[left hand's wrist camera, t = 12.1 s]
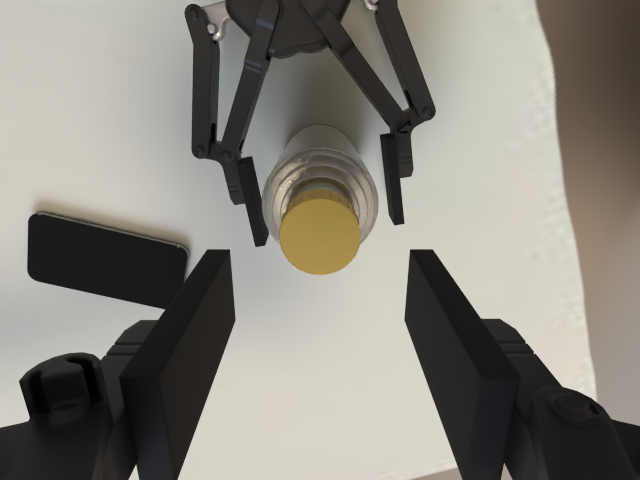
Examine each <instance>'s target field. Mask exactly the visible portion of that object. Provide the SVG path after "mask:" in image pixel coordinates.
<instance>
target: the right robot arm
mask: <svg viewBox="0 0 640 480" xmlns="http://www.w3.org/2000/svg"><path fill="white" fill-rule="evenodd" d="M350 1H351V0H225V1H223V2H219V3H215V4H211V5H208V6H204V7H200V6H198V5H196V4H190V5H188V6H187V8H186V9H185V18H186V21H187V25H188V28H189V31H190V35H191V38H192V41H193V44H194V47H193V100H192V153H193V155H194V156H195V157H196V158H199V159H203V158H205V159H211V160H215V161H217V162H219V163H220V164H221V165H222V167H223V170H224V174H225V178H226V182H227V186H228V190H229V194H230V198H231V200H232V202H233V203H234V205H238V204H246V209H247V213H248V217H249V221H250V226H251V230H252V234H253V238H254V243H255V247H258V246H265V244H266V241H267V238H268V236H269V231H268V228H267V226H266V223H265V221H264V217H263V213H262V200H261V195H260V190H259V186H258V181H257V177H256V172H255V168H254V163H253V159H252V156H251V157H245V158H242V159H241V154H242V152H241V151H242V148H243V144H244V141H245V138H246V135H247V132H248V128H249V125H250V122H251V119H252V116H253V112H254V109H255V106H256V103H257V100H258V96H259V93H260V90H261V87H262V84H263V80H264V77H265V74H266V72H267V70H268V67H269V64H270V61H271V58H272V57H274V58H278V59H283V58H288V57H291V56H293V55H295V54H297V53H299V52H303V53H316V52H321V51H322V50H323V49H325V48H326V47H327V46H328V47H329V48H330V50H331V51H332V52H333V54H334V55H335V56H336V58H337V59H338V60H339V61H340V62H341V64H342V65H343V66H344V68H345V69H346V70H347V72H348V73H349V74H350V76H351V77H352V78H353V80H354V81H355V82H356V84H357V85H358V86H359V88H360V89H361V90H362V92H363V93H364V94H365V96H366V97H367V98H368V100H369V101H370V102H371V104H372V105H373V106H374V108H375V109H376V110H377V112H378V113H379V114H380V116H381V117H382V118H383V120H384V121H385V122H386V124H387V125H388V126H389V128H390V133H387V134H381V135H380V140H381V149H382V158H383V167H384V176H385V185H386V193H387V202H388V211H389V216H390V218H391V220H392V222H393V223H394V225H400V224H404V215H403V205H402V195H401V185H400V178H404V177H410V176H411V175H412V172H413V160H412V149H411V132H412V130H413V129H414V127H416V126H417V125H419V124H421V123H423V122H424V121H428V120H431V119H432V118H433V117H434V115H435V112H436V110H435V106H434V103H433V101H432V98H431V95H430V93H429V90H428V87H427V85H426V82H425V79H424V76H423V74H422V71H421V68H420V66H419V63H418V60H417V58H416V55H415V52H414V50H413V47H412V44H411V42H410V39H409V36H408V34H407V31H406V28H405V26H404V23H403V20H402V18H401V15H400V12H399V10H398V7H397V0H361V1H362V3H363V6H364V8H365V10H366V11H368V12H371V13H373V12H374V14H375V19H376V23H377V26H378V29H379V32H380V34H381V37H382V39H383V42H384V44H385V47H386V49H387V52H388V55H389V57H390V60H391V62H392V65H393V67H394V70H395V72H396V75H397V77H398V80H399V82H400V85H401V88H402V90H403V93H404V95H405V98H406V100H407V103H408V105H409V108H407V109H406V110H404V111H402V109H401V108H400V107H399V105H398V104H397V103H396V101H395V100H394V98H393V97H392V96H391V94H390V93H389V92H388V90H387V89H386V87H385V86H384V85H383V83H382V82H381V81H380V79H379V78H378V76H377V75H376V74H375V72H374V71H373V70H372V68H371V67H370V66H369V64H368V63H367V61H366V60H365V59H364V57H363V56H362V55H361V53H360V52H359V50H358V49H357V48H356V46H355V45H354V43H353V41H352V39H351V38H350V36H349V35H348V34H347V32H346V31H345V30H344V28H343V27H342V26H341V24H340V23H341V20H342V18H343V16H344V14H345V12H346V10H347V7H348V5H349V3H350ZM229 20H233V21H234V22H235V23H236V24H237V25H238V26H239V27H240V28H241V29H242V30H243V31H244V32H245V33H246V34H247V35H248V36H249V37H250V38H251V39H250V43H249V46H248V49H247V53H246V56H245V61H244V68H243V71H242V75H241V78H240V81H239V85H238V88H237V92H236V95H235V98H234V102H233V105H232V109H231V112H230V115H229V119H228V122H227V126H226V129H225V132H224V136H223V139H222V142H221V141H217V117H218V91H219V65H220V49H219V42H218V41H220V40H222V39H223V38H224V36H225V26H226V24H227V22H228V21H229Z"/></svg>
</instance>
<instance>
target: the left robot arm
mask: <svg viewBox="0 0 640 480" xmlns="http://www.w3.org/2000/svg"><path fill="white" fill-rule="evenodd" d="M234 323H235V308H234V295H233V283H232V271H231V258H230V250H207V251H206V252H205V254H204V255H203V256H202V258H201V259H200V261H199V262H198V264H197V265H196V267H195V268H194V269H193V271H192V272H191V274H190V275H189V277H188V278H187V279H186V281H185V282H184V284H183V285H182V287H181V288H180V289H179V291H178V292H177V294H176V295H175V297H174V298H173V300H172V301H171V302H170V304H169V305H168V307H167V308H166V310H165V311H164V312H163V314H162V315H161V317H160V318H159V320H140V321H139V322H137V323H136V324H134V325H132V326H131V327H129V328H128V329H126V330H125V331H124V332H123V333H122V335H121V336H120V337H119V338H118V340H117V341H116V342H115V345H113V346H112V347H111V348H110V349H109V351H108V352H107V355H106V356H104V357H103V358H102V359H101V361H100V359H98V358H97V357H96V356H95V355H93V354H88V353H83V352H82V353H69V354H65V355H61V356H57V357H53V358H51V359H49V360H46V361H44V362H42V363H40V364H38V365H36V366H35V367H34V368H32V369H31V370H29V371H28V372H26V374H25V375H24V376H23V377H22V378H21V379H20V381H19V383H20V386H21V390H22V393H23V396H24V400H25V403H26V406H27V409H28V413H29V416H30V419H29V421H27V422H24V423H20V424H16V425H11V426H7V427H2V428H0V480H128V479H129V477H130V475H131V473H132V471H133V469H134V467H135V465H137V470H138V475H139V480H177V479H178V477H179V474H180V471H181V468H182V466H183V463H184V460H185V457H186V455H187V452H188V449H189V446H190V444H191V441H192V438H193V435H194V433H195V430H196V427H197V424H198V422H199V419H200V416H201V413H202V411H203V408H204V405H205V402H206V400H207V397H208V394H209V391H210V389H211V386H212V383H213V380H214V378H215V375H216V372H217V369H218V367H219V364H220V361H221V358H222V356H223V353H224V350H225V347H226V345H227V342H228V339H229V336H230V334H231V331H232V328H233V325H234ZM405 323H406V325H407V328H408V331H409V334H410V336H411V339H412V342H413V345H414V347H415V350H416V353H417V356H418V358H419V361H420V364H421V367H422V369H423V372H424V375H425V378H426V380H427V383H428V386H429V389H430V391H431V394H432V397H433V400H434V402H435V405H436V408H437V411H438V413H439V416H440V419H441V422H442V424H443V427H444V430H445V433H446V435H447V438H448V441H449V444H450V446H451V449H452V452H453V455H454V457H455V460H456V463H457V466H458V468H459V471H460V474H461V477H462V479H463V480H501V475H502V470H503V465H504V463H505V465H506V467H507V469H508V471H509V473H510V475H511V477H512V479H513V480H640V426H637V425H633V424H628V423H624V422H619V421H616V420H612V419H611V418H610V417H609V415H608V414H607V413H606V411H605V410H604V408H603V407H602V406H600V405H599V404H598V403H597V402H595V401H594V400H593V399H592V398H590V397H588V396H586V395H584V394H582V393H580V392H578V391H575V390H571V389H568V388H564V387H562V386H561V385H560V383H559V382H558V381H557V380H556V378H555V377H554V376H553V375H552V374H551V372H550V371H549V370H548V369H547V367H546V366H545V365H544V364H543V362H542V361H541V360H540V359H539V357H538V356H537V355H536V354H534V351H533V350H532V349H531V348H530V346H529V345H528V344H526V343H525V340H524V339H523V338H522V337H521V335H520V334H519V333H518V332H517V330H516V329H514V328H513V327H511V326H510V325H508V324H507V323H505V322H504V321H502V320H501V319H481V318H480V317H479V315H478V314H477V312H476V311H475V310H474V308H473V307H472V305H471V304H470V302H469V301H468V300H467V298H466V297H465V295H464V294H463V292H462V291H461V289H460V288H459V287H458V285H457V284H456V282H455V281H454V279H453V278H452V277H451V275H450V274H449V272H448V271H447V269H446V268H445V267H444V265H443V264H442V262H441V261H440V259H439V258H438V256H437V255H436V254H435V252H434V251H433V250H410V258H409V271H408V283H407V295H406V308H405Z"/></svg>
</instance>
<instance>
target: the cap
mask: <svg viewBox="0 0 640 480" xmlns="http://www.w3.org/2000/svg"><path fill="white" fill-rule="evenodd" d="M359 225H360V222H359V219H358V216H357V215H356V212H355V209H354V206H352V205H351V204H350V203H349V200H348V199H346V198H344V197H343V196H342V195H341V193H337V192H334V191H332V189H330V190H327V189H322V188H320V189H313V190H312V189H310V190H309V191H306V192H301V194H300V195H298V196H297V197H296V198H295V197H294V198H293V200H292V201H291V203H290V204H288V205H287V208H286V211H285V213H283V216H282V219H281V225H280V229H279V232H280V233H279V239H280V240H279V241H280V245H281V249H282V251H283V253H284V255H285V257H286V258H287V259H288V261H289V262H290V263H291V264H292V265H294V266H295V267H296V268H298V269H300V270H301V271H304V272H306V273H310V274H315V275H324V274H330V273H334V272H336V271H338V270H341V269H342V268H344V267H345V266H346V265H348V264H349V263H350V262H351V261H352V259H353V258H354V257H355V255H356V253H357V251H358V249H359V245H360V239H361V231H360V227H359Z"/></svg>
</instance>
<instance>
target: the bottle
mask: <svg viewBox="0 0 640 480" xmlns="http://www.w3.org/2000/svg"><path fill="white" fill-rule="evenodd" d="M320 188H322V189H327V190H330V189H332V191H334V192H337V193H341V195H342V196H343V197H344V198H346V199H348V200H349V203H350V204H351V205H352V206H354V209H355V212H356V215H357V216H358V219H359V222H360V225H359V227H360V231H361V239H360V244H361V243H362V242H363V241H364V240H365V239H366V238H367V236H368V235H369V233H370V232H371V230H372V228H373V226H374V223H375V221H376V217H377V213H378V195H377V190H376V187H375V184H374V181H373V179H372V177H371V175H370V174H369V172H368V170H367V168H366V167H365V165H364V163H363V161H362V160H361V158H360V156H359V155H358V153H357V151H356V149H355V148H354V146H353V144H352V143H351V141H350V139H349V138H348V137H347V136H346V135H345V134H344V133H343V132H341V131H340V130H338V129H336V128H334V127H331V126H327V125H313V126H309V127H306V128H304V129H302V130H300V131H299V132H297V133H296V134H295V135H294V136H293V137H292V138H291V140H290V141H289V143H288V144H287V146H286V148H285V149H284V151H283V153H282V155H281V156H280V158H279V160H278V162H277V163H276V165H275V167H274V168H273V170H272V172H271V174H270V175H269V177H268V179H267V181H266V184H265V187H264V190H263V195H262V213H263V217H264V221H265V223H266V226H267V228H268V230H269V232H270V233H271V235H272V236H273V237H274V239H275V240H276V241H277V242H278V243H279V244H280V241H279V240H280V239H279V233H280V232H279V229H280V225H281V219H282V216H283V213H285V211H286V208H287V205H288V204H290V203H291V201H292V200H293V198H294V197H295V198H296V197H297V196H298V195H300V194H301V192H306V191H309V190H310V189H312V190H313V189H320Z"/></svg>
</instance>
